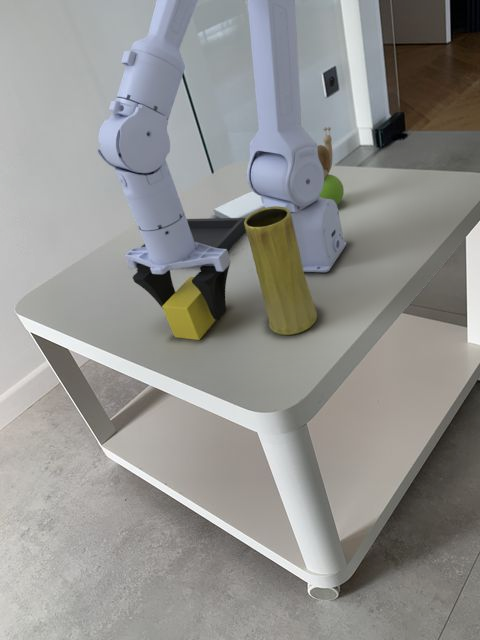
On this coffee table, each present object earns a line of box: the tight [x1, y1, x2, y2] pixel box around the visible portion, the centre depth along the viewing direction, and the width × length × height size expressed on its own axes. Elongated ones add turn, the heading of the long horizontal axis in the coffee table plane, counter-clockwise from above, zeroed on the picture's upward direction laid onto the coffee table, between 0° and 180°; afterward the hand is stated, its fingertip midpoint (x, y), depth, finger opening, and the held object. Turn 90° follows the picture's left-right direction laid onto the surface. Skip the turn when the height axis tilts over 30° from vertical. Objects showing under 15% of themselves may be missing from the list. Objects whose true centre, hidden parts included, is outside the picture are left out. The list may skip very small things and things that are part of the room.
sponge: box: [161, 276, 216, 341], centre depth 73 cm, size 4×7×5 cm, turn 154°
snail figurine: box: [317, 126, 345, 205], centre depth 90 cm, size 5×6×12 cm
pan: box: [139, 217, 246, 252], centre depth 93 cm, size 16×13×2 cm
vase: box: [244, 206, 318, 336], centre depth 65 cm, size 6×6×14 cm
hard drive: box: [212, 190, 265, 218], centre depth 100 cm, size 2×8×12 cm
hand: (196, 313), depth 73 cm, fingers open, 7 cm apart
